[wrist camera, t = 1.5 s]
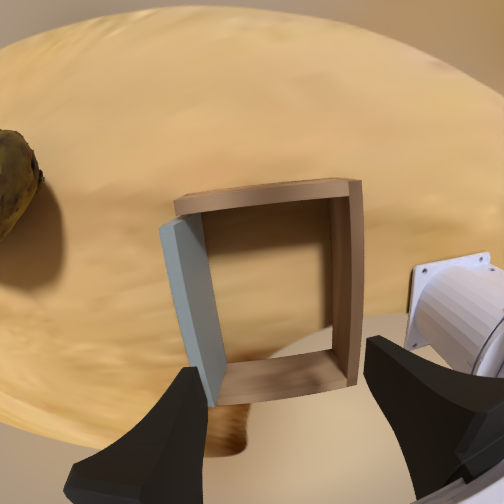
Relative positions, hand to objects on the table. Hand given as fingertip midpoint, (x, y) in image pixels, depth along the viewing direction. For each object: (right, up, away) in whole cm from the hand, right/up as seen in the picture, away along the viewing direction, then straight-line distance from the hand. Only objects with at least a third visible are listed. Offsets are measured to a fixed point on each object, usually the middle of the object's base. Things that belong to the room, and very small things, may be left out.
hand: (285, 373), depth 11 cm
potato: (-21, +10, +6) cm, 24 cm away
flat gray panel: (-5, +2, +9) cm, 10 cm away
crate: (0, +3, +9) cm, 10 cm away
